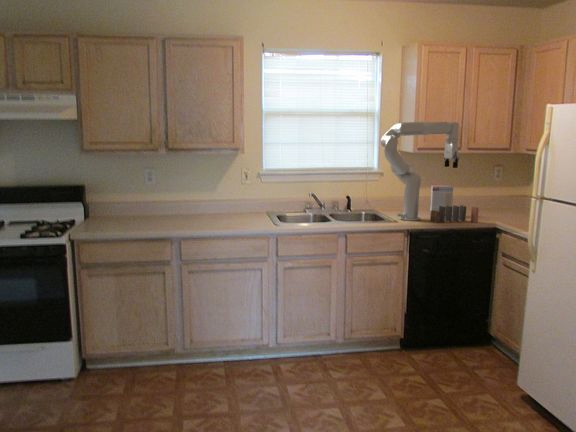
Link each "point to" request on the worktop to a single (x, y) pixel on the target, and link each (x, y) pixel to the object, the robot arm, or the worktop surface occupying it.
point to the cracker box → (441, 197)
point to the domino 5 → (474, 215)
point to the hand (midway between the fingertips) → (450, 167)
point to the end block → (434, 216)
